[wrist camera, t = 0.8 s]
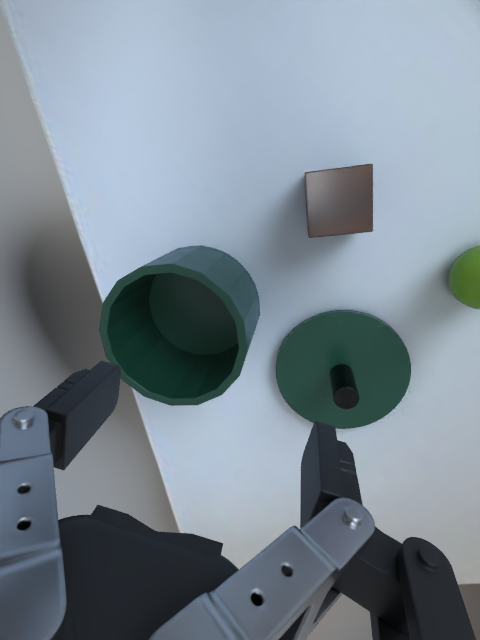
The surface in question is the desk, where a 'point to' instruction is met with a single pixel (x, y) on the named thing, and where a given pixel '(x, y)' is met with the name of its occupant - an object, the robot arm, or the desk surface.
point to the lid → (343, 369)
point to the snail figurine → (466, 278)
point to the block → (339, 201)
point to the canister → (181, 325)
